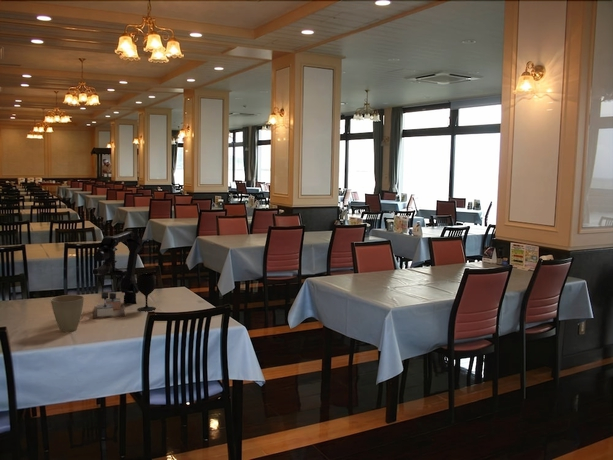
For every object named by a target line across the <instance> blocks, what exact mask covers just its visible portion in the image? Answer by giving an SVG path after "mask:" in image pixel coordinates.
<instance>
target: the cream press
mask: <svg viewBox="0 0 613 460" xmlns="http://www.w3.org/2000/svg"><path fill="white" fill-rule="evenodd" d="M96 306H97V317H98V316H112V315H113V304H106V307H104V304H97V305H96Z"/></svg>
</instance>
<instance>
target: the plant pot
mask: <svg viewBox="0 0 613 460" xmlns="http://www.w3.org/2000/svg"><path fill="white" fill-rule="evenodd" d="M84 299H85V296H83V295H79V294H65V295H64V294H63V295H58V296H55V297H52V298H51V299H50V303H51V307H52V308H51V309H52V311H53V312H52V313H53V315H54V318H55V321H56V324H57V326H58V328H59V330H60V331H61V332H63V333H70V332H76V330H78V327H79V324H80V320H81V317H82V313H83V308H84V302H85V301H84Z"/></svg>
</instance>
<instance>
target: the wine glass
mask: <svg viewBox="0 0 613 460" xmlns="http://www.w3.org/2000/svg"><path fill="white" fill-rule="evenodd" d="M155 276H156V275H155V274H154V273H149V272H148V273H144V272H143V273H140V274H138V275H137V277H136V285H137V288H138V290H139V293H141V294H142V295H144V297H145V306H141V307H138V308H137V309H136V311H138V312H141V311H145V313H147V312H153V311H152V310H154V311H156V310H157V307H155V306H149V304H148V297H149V295H150V294H151V293H153V292H154V290H156V289H155V288H156V285H157V284H156V283H157V282H156V281H157V280H156V277H155ZM155 309H156V310H155ZM146 311H147V312H146Z"/></svg>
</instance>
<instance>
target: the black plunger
mask: <svg viewBox="0 0 613 460" xmlns="http://www.w3.org/2000/svg"><path fill="white" fill-rule="evenodd" d="M100 298H101V299H102V300H103V305H104V307H106V299H109V291H102V292H101V297H100Z"/></svg>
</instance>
